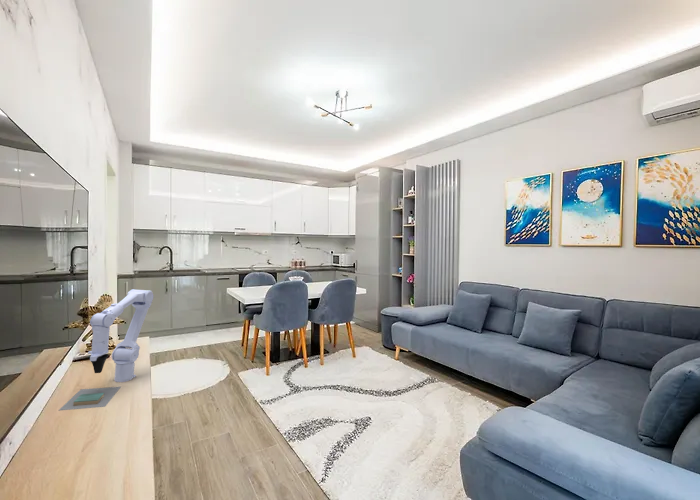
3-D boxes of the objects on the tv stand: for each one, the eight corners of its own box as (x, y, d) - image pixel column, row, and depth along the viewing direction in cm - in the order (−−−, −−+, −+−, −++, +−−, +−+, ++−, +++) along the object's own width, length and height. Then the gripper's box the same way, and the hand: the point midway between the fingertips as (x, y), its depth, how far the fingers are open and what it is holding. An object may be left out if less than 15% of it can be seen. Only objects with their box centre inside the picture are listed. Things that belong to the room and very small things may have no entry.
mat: (80, 390, 144) (80, 389, 144) (120, 387, 149) (121, 386, 149) (58, 412, 125) (58, 410, 125) (104, 408, 130) (105, 406, 130)
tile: (81, 394, 136) (73, 401, 129) (104, 392, 138) (97, 399, 132) (80, 398, 136) (73, 405, 129) (103, 396, 138) (97, 403, 132)
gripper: (95, 337, 147) (93, 367, 147) (82, 346, 133) (79, 379, 133) (114, 336, 149) (112, 366, 149) (102, 345, 136) (100, 378, 136)
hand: (98, 372), depth 141 cm, fingers closed
